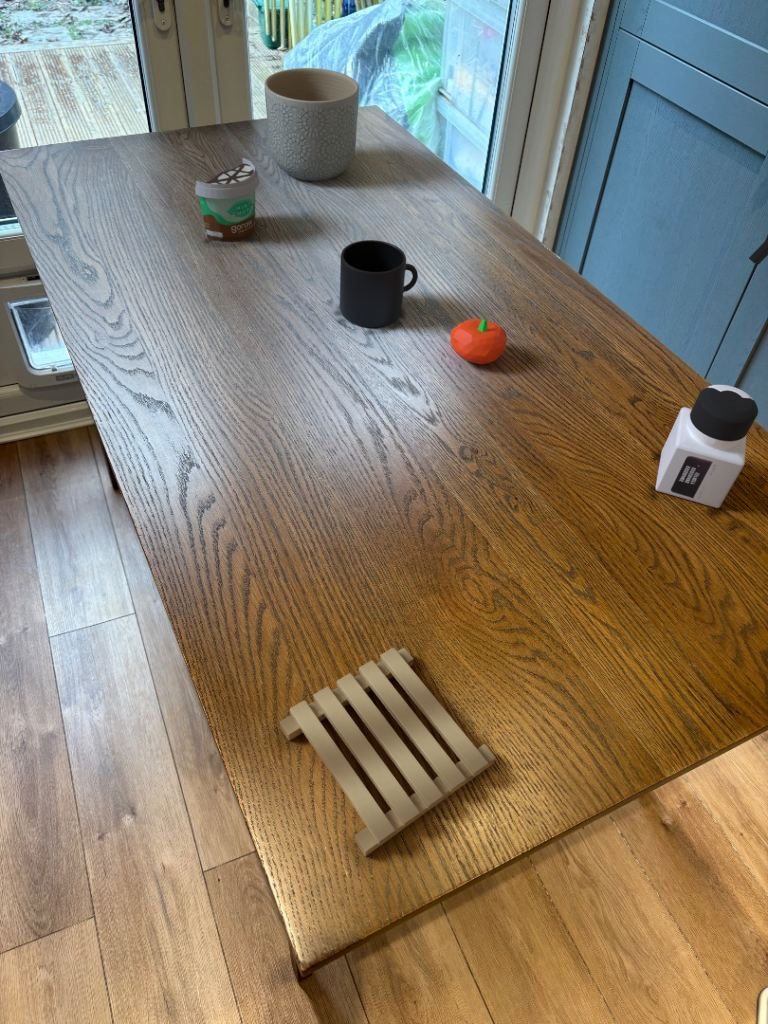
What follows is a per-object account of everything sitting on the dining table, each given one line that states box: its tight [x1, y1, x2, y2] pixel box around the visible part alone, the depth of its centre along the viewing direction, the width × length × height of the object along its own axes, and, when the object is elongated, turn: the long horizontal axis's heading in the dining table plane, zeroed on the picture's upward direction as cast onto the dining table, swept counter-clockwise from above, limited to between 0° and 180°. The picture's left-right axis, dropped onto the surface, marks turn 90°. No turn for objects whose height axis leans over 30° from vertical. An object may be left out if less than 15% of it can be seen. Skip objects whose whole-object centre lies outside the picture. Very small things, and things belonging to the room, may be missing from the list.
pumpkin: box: [449, 318, 508, 365], centre depth 105 cm, size 7×8×6 cm
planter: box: [264, 67, 360, 182], centre depth 140 cm, size 17×17×15 cm
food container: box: [194, 157, 260, 243], centre depth 124 cm, size 12×6×10 cm, turn 147°
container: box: [655, 384, 759, 509], centre depth 88 cm, size 8×8×13 cm
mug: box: [339, 239, 419, 328], centre depth 111 cm, size 9×12×9 cm
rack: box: [279, 647, 497, 857], centre depth 67 cm, size 14×14×2 cm
